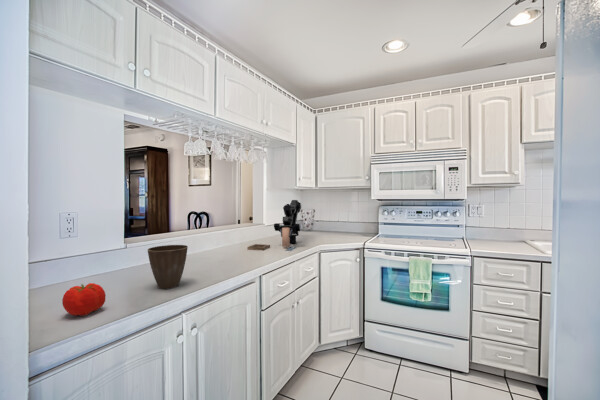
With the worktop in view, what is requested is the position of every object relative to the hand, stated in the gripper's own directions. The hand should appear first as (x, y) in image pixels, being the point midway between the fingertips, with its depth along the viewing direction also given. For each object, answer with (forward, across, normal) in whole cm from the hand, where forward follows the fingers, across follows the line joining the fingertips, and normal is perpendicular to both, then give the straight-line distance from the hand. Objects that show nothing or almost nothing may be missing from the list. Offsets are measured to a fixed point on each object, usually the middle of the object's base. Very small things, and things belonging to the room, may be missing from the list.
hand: (285, 236), depth 195 cm
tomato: (+87, -40, -75) cm, 122 cm away
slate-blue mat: (+6, 0, +7) cm, 9 cm away
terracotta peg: (+4, 0, +6) cm, 7 cm away
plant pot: (+67, -30, -55) cm, 92 cm away
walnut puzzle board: (+8, -19, +5) cm, 21 cm away
